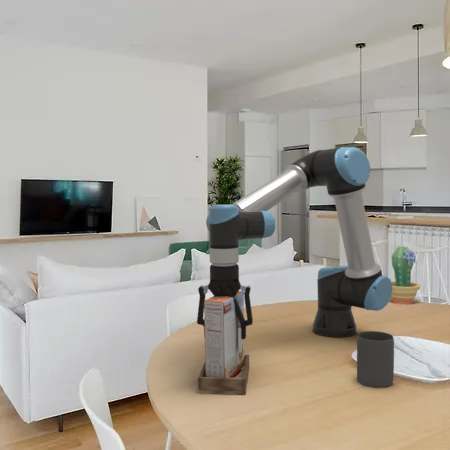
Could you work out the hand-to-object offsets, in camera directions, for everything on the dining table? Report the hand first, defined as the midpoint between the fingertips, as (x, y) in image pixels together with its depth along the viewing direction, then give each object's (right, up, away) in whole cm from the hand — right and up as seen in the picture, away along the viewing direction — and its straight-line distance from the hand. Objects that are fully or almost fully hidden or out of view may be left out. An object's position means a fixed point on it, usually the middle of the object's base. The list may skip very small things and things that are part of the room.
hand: (225, 350), depth 130 cm
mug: (+39, -8, +1) cm, 40 cm away
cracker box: (0, -6, 0) cm, 6 cm away
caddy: (0, -8, 0) cm, 8 cm away
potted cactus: (+80, -2, +93) cm, 122 cm away
